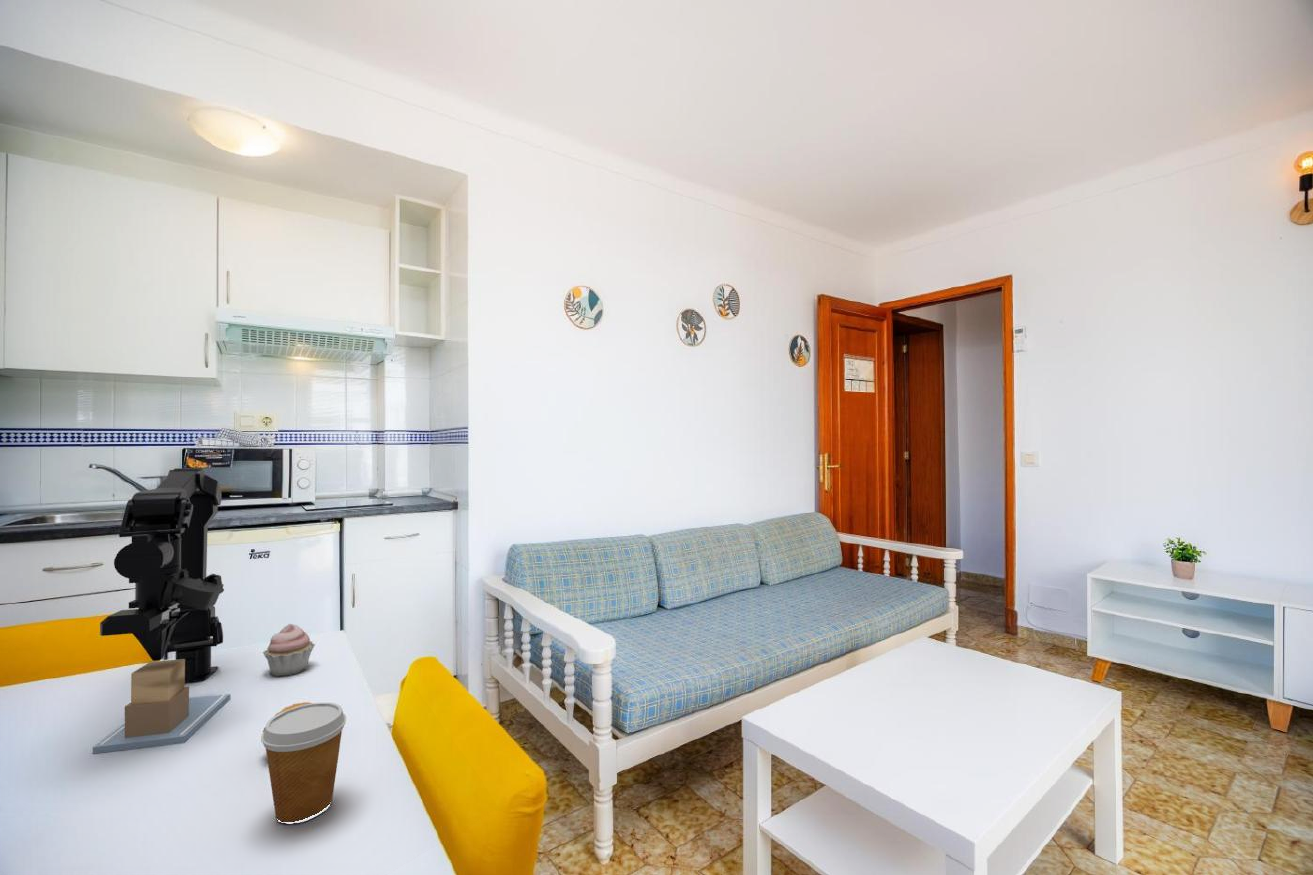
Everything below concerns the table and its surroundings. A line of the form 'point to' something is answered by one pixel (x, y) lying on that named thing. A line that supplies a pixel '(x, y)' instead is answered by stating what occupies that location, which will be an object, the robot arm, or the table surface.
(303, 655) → the cupcake
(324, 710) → the disposable coffee cup
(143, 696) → the oak cube
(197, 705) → the blueprint board
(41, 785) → the table surface
